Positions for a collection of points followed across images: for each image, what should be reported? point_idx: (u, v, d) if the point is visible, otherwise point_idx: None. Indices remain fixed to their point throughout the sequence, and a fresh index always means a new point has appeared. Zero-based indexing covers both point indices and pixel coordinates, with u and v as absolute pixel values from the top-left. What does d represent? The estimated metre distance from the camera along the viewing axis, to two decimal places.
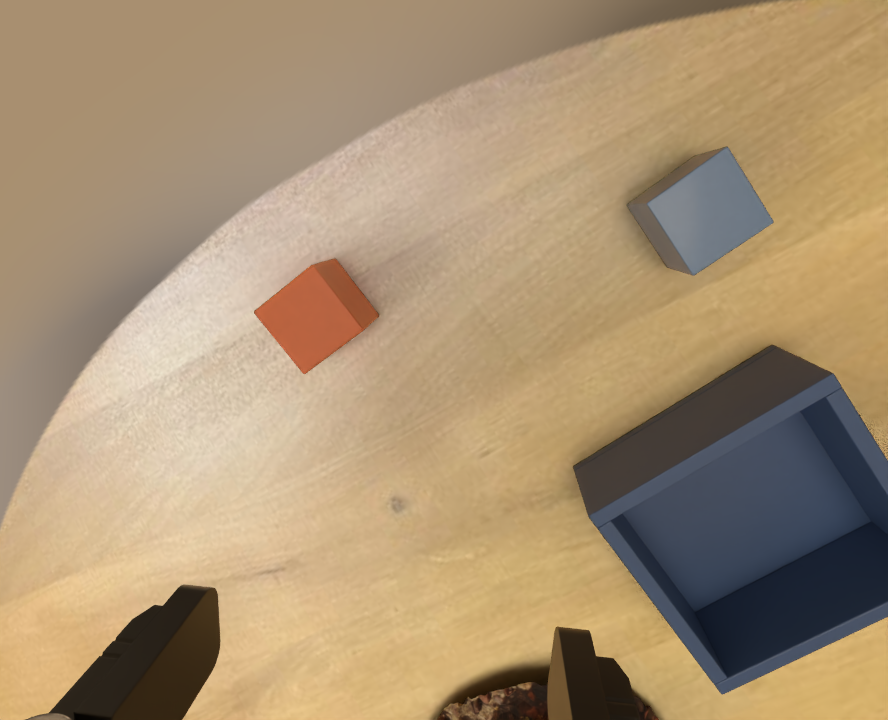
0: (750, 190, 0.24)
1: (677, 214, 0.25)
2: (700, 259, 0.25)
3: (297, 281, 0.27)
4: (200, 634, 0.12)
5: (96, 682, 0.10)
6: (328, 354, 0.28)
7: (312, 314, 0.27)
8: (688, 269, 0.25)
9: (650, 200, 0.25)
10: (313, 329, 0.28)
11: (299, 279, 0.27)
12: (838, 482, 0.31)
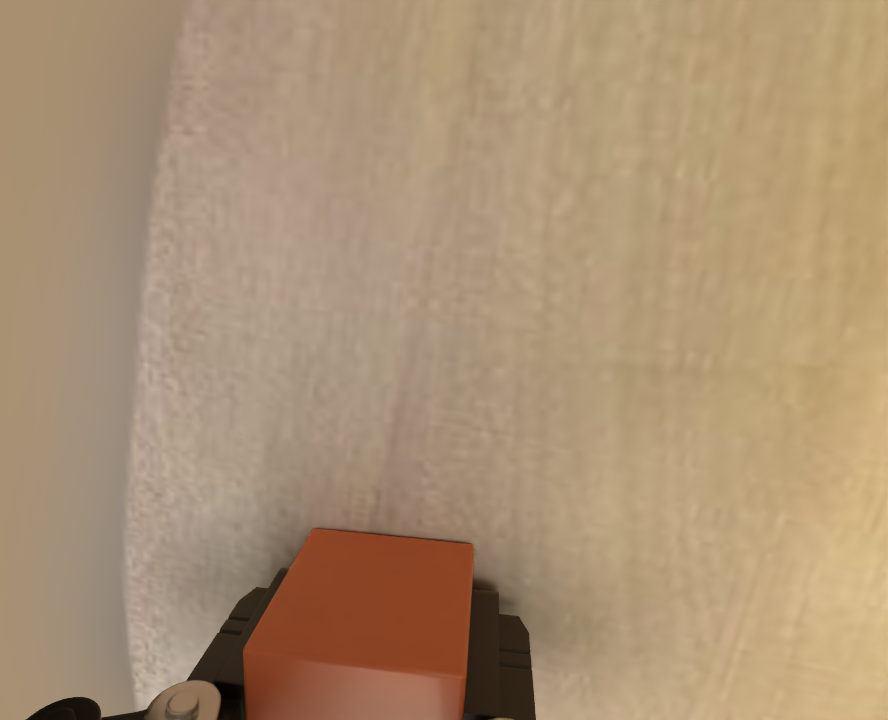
0: None
1: None
2: None
3: (253, 703, 0.10)
4: None
5: (221, 656, 0.11)
6: None
7: None
8: None
9: None
10: None
11: (252, 697, 0.10)
12: None
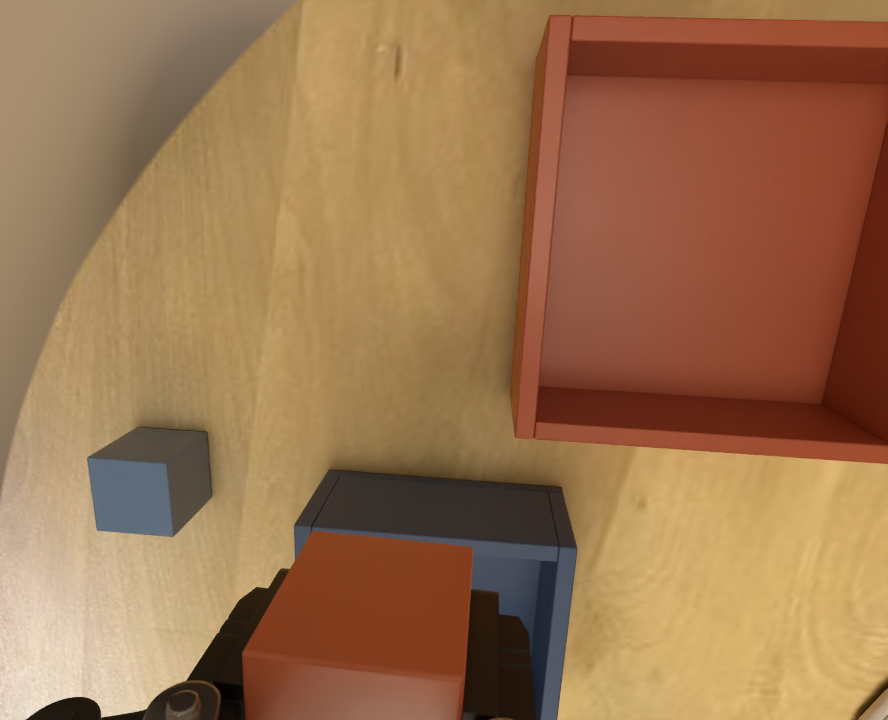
0: (130, 464, 0.27)
1: (117, 518, 0.27)
2: (162, 525, 0.27)
3: (252, 706, 0.10)
4: None
5: (221, 656, 0.11)
6: None
7: None
8: (167, 535, 0.28)
9: (97, 525, 0.28)
10: None
11: (251, 700, 0.10)
12: None
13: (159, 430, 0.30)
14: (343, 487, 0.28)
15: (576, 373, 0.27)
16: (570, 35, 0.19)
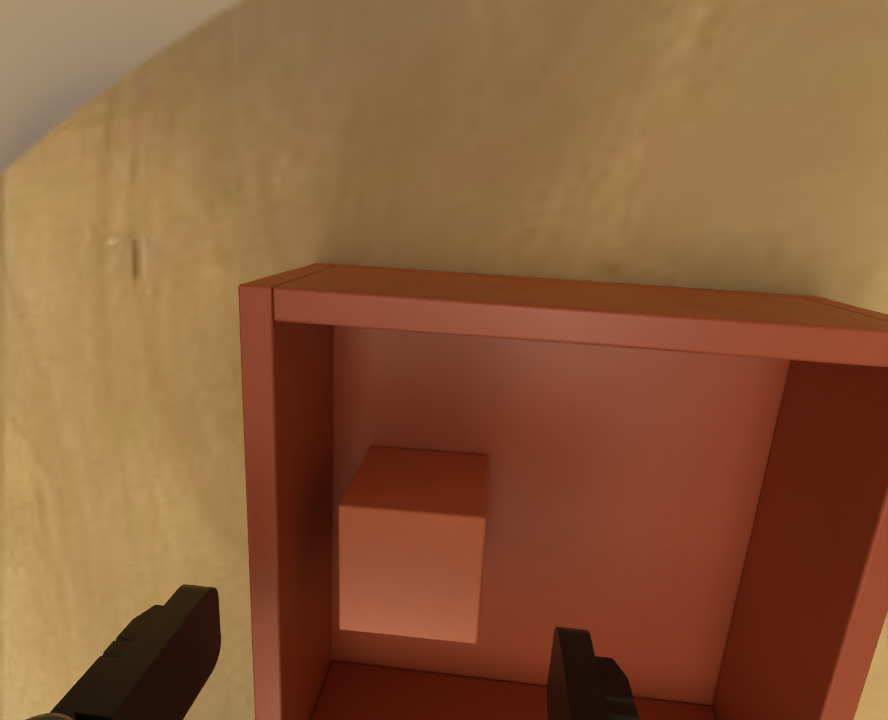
0: None
1: None
2: None
3: (344, 543, 0.15)
4: (200, 634, 0.12)
5: (97, 682, 0.11)
6: (478, 591, 0.15)
7: (405, 564, 0.15)
8: None
9: None
10: (427, 580, 0.15)
11: (343, 539, 0.15)
12: None
13: None
14: None
15: (392, 649, 0.21)
16: (273, 311, 0.13)
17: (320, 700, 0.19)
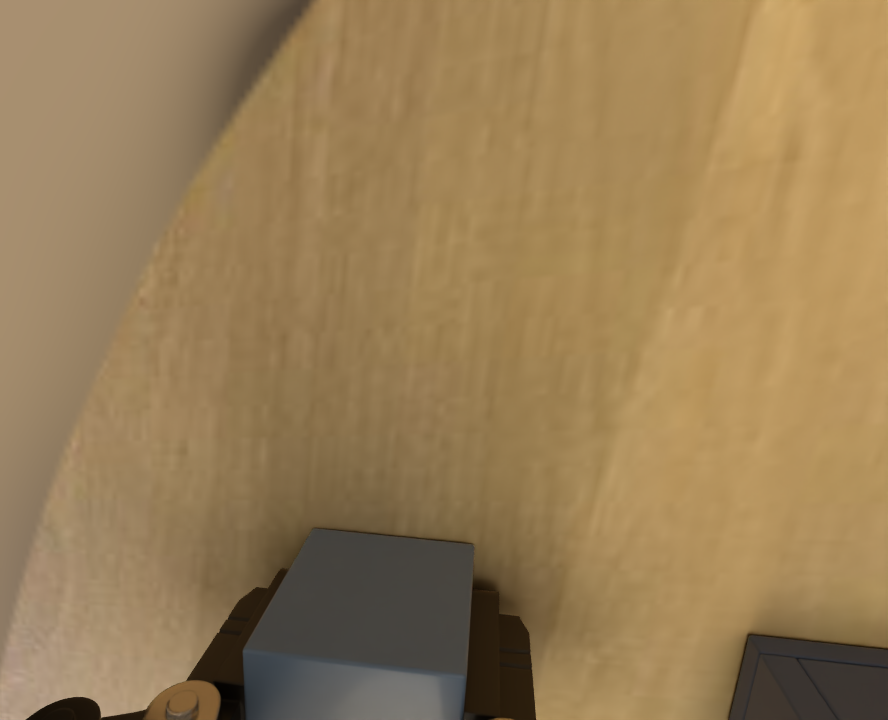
0: (363, 672, 0.10)
1: None
2: None
3: None
4: None
5: (221, 656, 0.11)
6: None
7: None
8: None
9: None
10: None
11: None
12: None
13: (368, 539, 0.13)
14: (852, 705, 0.11)
15: None
16: None
17: None
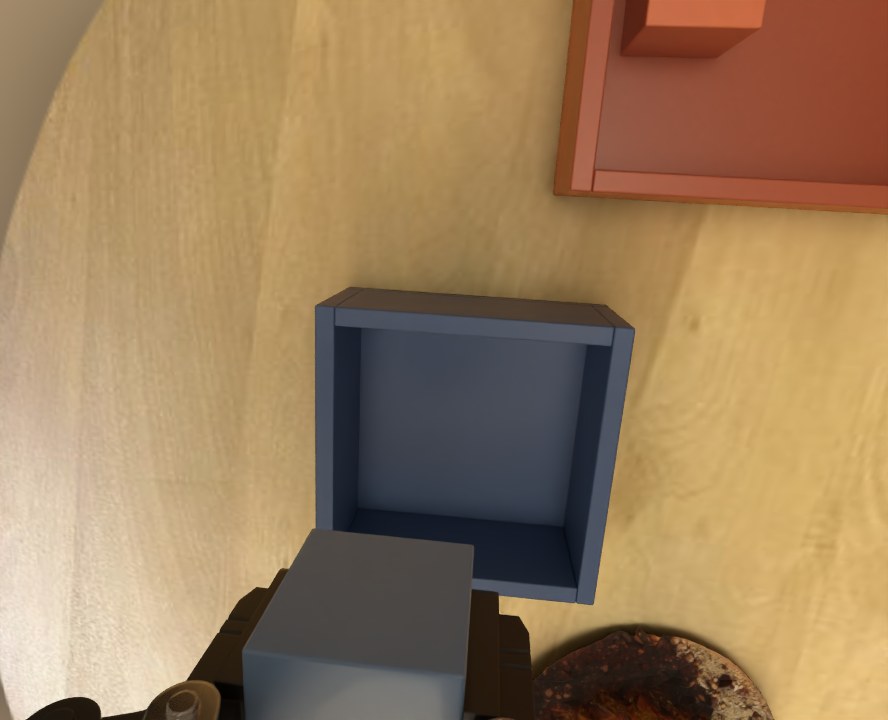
0: (362, 672, 0.10)
1: None
2: None
3: None
4: None
5: (221, 656, 0.11)
6: None
7: None
8: None
9: None
10: None
11: None
12: None
13: (367, 539, 0.13)
14: (366, 293, 0.26)
15: (629, 161, 0.24)
16: None
17: None
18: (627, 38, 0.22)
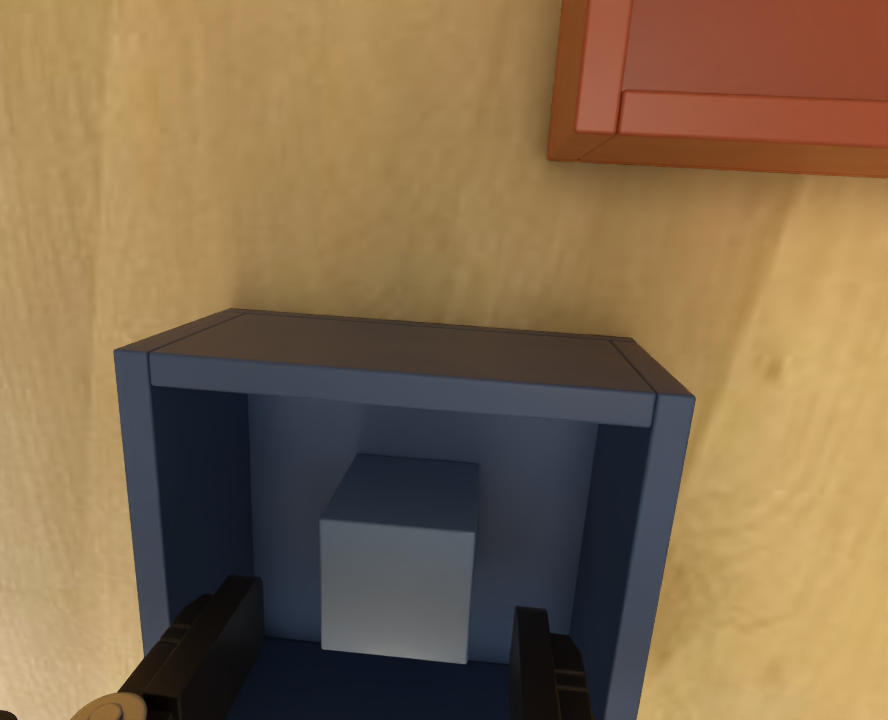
0: (404, 532, 0.14)
1: (364, 628, 0.15)
2: (450, 644, 0.15)
3: None
4: (248, 621, 0.13)
5: (157, 665, 0.11)
6: None
7: None
8: (454, 660, 0.15)
9: (322, 639, 0.15)
10: None
11: None
12: None
13: (399, 460, 0.18)
14: (243, 321, 0.16)
15: None
16: None
17: None
18: None
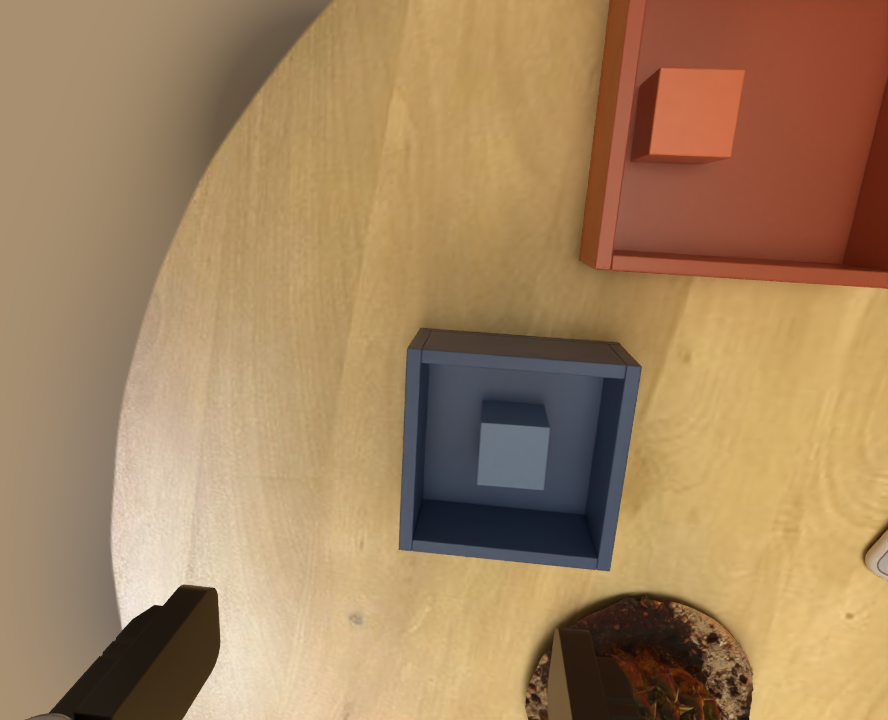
0: (518, 428, 0.32)
1: (498, 474, 0.33)
2: (537, 480, 0.33)
3: (661, 92, 0.27)
4: (200, 634, 0.12)
5: (96, 682, 0.10)
6: (736, 120, 0.27)
7: (695, 104, 0.27)
8: (537, 489, 0.33)
9: (477, 480, 0.33)
10: (706, 114, 0.27)
11: (661, 89, 0.27)
12: None
13: (504, 403, 0.36)
14: (437, 335, 0.34)
15: (636, 237, 0.33)
16: None
17: None
18: (635, 153, 0.30)
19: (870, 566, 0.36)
